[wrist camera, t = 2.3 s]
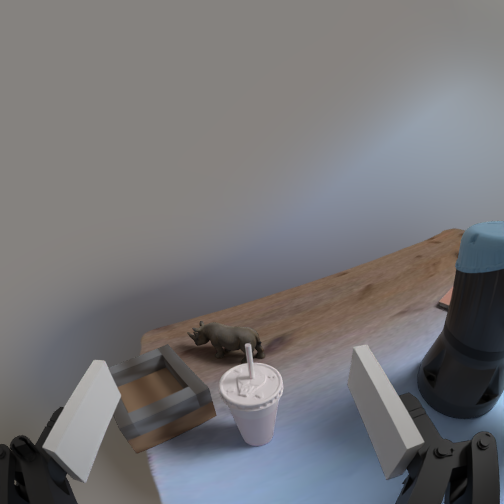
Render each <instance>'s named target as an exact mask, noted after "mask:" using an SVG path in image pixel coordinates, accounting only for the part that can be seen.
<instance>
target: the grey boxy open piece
mask: <svg viewBox="0 0 504 504" xmlns="http://www.w3.org/2000/svg"><path fill="white" fill-rule="evenodd" d="M108 369H109V371H110V373H111V375H112V377H113V380H114V382H115V384H116V386H117V388H118V390H119V392H120V394H121V397H120V400H119V402H118V404H117V406H116V409H115V411H114V413H113V416H114V418H115V420H116V423H117V425H118V427H119V429H120V431H121V432H122V433H123V435H124V436H125V438H126V439H127V441H128V442H129V443H130V445H131V446H132V448H133V449H134V451H135V452H136V453H139V452H142V451H145V450H147V449H149V448H152V447H154V446H156V445H158V444H161V443H163V442H165V441H167V440H169V439H172V438H174V437H176V436H178V435H180V434H182V433H184V432H186V431H188V430H190V429H192V428H194V427H196V426H198V425H200V424H202V423H204V422H206V421H207V420H209V419H211V418H213V417H215V416H217V415H216V412H215V408H214V405H213V401H212V398H211V394H210V391H209V388H208V387H207V386H206V385H205V384H204V383H203V382H202V381H201V380H200V379H199V378H198V377H197V376H196V375H195V374H194V372H193V371H192V370H191V369H190V368H189V367H188V366H187V365H186V364H185V363H184V362H183V361H182V360H181V358H180V357H179V356H178V355H177V354H176V353H175V352H174V351H173V350H172V348H171V347H170V346H169V345H168V344H167V345H165V346H162V347H160V348H158V349H155V350H153V351H150V352H148V353H145V354H143V355H140V356H138V357H135V358H133V359H130V360H127V361H125V362H122V363H120V364H117V365H114V366H112V367H109V368H108Z"/></svg>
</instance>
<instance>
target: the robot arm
mask: <svg viewBox="0 0 504 504" xmlns="http://www.w3.org/2000/svg"><path fill="white" fill-rule="evenodd" d="M455 267H456V275H455V280H454V286H453V291H452V296H451V300H450V305H449V309H448V313H447V317H446V321H445V325H444V328H443V331H442V332H441V334H440V335H439V337H438V338H437V339H436V341H435V342H434V344H433V345H432V347H431V348H430V349H429V351H428V352H427V354H426V355H425V357H424V359H423V361H422V364H421V367H420V370H419V373H418V387H419V390H420V392H421V394H422V396H423V397H424V399H425V400H426V401H427V402H428V404H429V405H431V406H432V407H433V408H434V409H436V410H437V411H439V412H441V413H443V414H445V415H447V416H450V417H454V418H463V419H466V418H474V417H478V416H481V415H483V414H485V413H486V412H488V411H489V410H491V409H492V408H493V407H494V405H495V404H496V403H497V401H498V399H499V398H500V396H501V394H502V392H503V390H504V221H491V222H484V223H478V224H475V225H473V226H471V227H469V228H468V229H467V230H466V231H465V232H464V234H463V236H462V239H461V244H460V250H459V255H458V259H457V261H456V266H455ZM347 385H348V387H349V389H350V392H351V394H352V396H353V399H354V401H355V403H356V406H357V408H358V411H359V413H360V415H361V418H362V420H363V422H364V425H365V427H366V430H367V432H368V435H369V437H370V440H371V442H372V444H373V447H374V449H375V452H376V454H377V457H378V459H379V462H380V464H381V467H382V470H383V472H384V475H385V477H386V480H388V479H391V478H394V477H397V476H399V475H402V474H403V473H404V471H405V470H406V469H407V470H408V473H409V475H408V476H407V478H406V479H405V480H404V482H403V483H402V484H404V486H403V488H402V491H401V493H400V495H399V497H398V499H397V501H396V503H395V504H441V502H442V500H443V497H444V494H445V502H444V504H500V484H499V466H498V455H497V447H496V441H495V438H494V436H493V435H492V434H491V433H489V432H484V431H482V432H479V433H477V434H476V435H475V436H474V437H473V438H472V440H469V441H463V442H458V443H452V442H451V441H450V440H447V439H443V438H442V437H441V436H440V434H439V433H438V431H437V429H436V428H435V426H434V425H433V423H432V421H431V420H430V418H429V416H428V415H427V414H426V412H425V410H424V408H422V405H421V404H420V402H419V401H418V399H417V398H416V397H414V396H413V395H412V394H410V393H406V394H403V395H400V396H398V394H397V393H396V391H395V389H394V388H393V386H392V384H391V383H390V381H389V379H388V378H387V376H386V374H385V373H384V371H383V369H382V368H381V366H380V364H379V363H378V361H377V360H376V358H375V356H374V355H373V353H372V352H371V350H370V348H369V347H368V345H362V346H357V347H353V354H352V361H351V367H350V373H349V379H348V384H347ZM120 397H121V394H120V392H119V390H118V388H117V386H116V384H115V382H114V380H113V377H112V375H111V373H110V371H109V369H108V366H107V364H106V362H105V361H102V360H94V361H93V362H92V364H91V366H90V367H89V368H88V370H87V372H86V373H85V375H84V376H83V378H82V379H81V381H80V383H79V384H78V386H77V388H76V389H75V391H74V392H73V394H72V396H71V397H70V399H69V401H68V402H67V404H66V406H65V407H64V408H63V407H60V408H59V409H58V410H56V411H55V412H54V413H53V415H52V417H51V418H50V421H49V422H48V423H47V427H45V429H44V430H43V432H42V434H41V436H40V438H39V439H38V441H37V443H36V445H34V444H33V443H32V442H31V441H30V440H29V439H28V438H27V437H26V436H23V435H22V436H17V437H15V438H14V439H13V440H12V442H11V444H10V449H11V450H12V451H11V450H10V449H9V448H8V446H6V445H4V444H0V504H78V503H77V501H76V499H75V497H74V494H73V492H72V489H71V487H70V484H69V481H68V480H67V478H66V474H69V475H70V476H71V477H72V478H73V479H75V480H78V481H80V482H83V483H86V481H87V478H88V475H89V473H90V470H91V467H92V465H93V462H94V460H95V457H96V455H97V452H98V449H99V447H100V445H101V442H102V439H103V437H104V435H105V432H106V430H107V427H108V425H109V423H110V420H111V418H112V416H113V413H114V411H115V409H116V406H117V404H118V402H119V400H120ZM14 479H15V480H16V485H15V484H14Z"/></svg>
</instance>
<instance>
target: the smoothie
mask: <svg viewBox="0 0 504 504" xmlns="http://www.w3.org/2000/svg"><path fill="white" fill-rule="evenodd" d="M245 350H246V357H247V363H245V364H241V365H238V366H235V367H233V368H231V369H229V370H228V371H227V372H226V373H224V375H223V376H222V377H221V379H220V381H219V390H220V396H221V399H222V400H223V402H224V403H225V404H226V405H228V408H229V410H230V412H231V414H232V416H233V418H234V420H235V422H236V425H237V427H238V429H239V431H240V433H241V435H242V437H243V439H244V441H245V442H246V443H248V444H249V445H252V446H262V445H265V444H267V443H268V442H270V441H271V439H272V438H273V433H274V427H275V421H276V414H277V408H278V402H279V398H280V397H281V395H282V393H283V381H282V377H281V375H280V373H279V372H278V371H277V370H276V369H275V368H273V367H271V366H269V365H266V364H262V363H253V357H252V349H251V344H250V343H247V344H245Z"/></svg>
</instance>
